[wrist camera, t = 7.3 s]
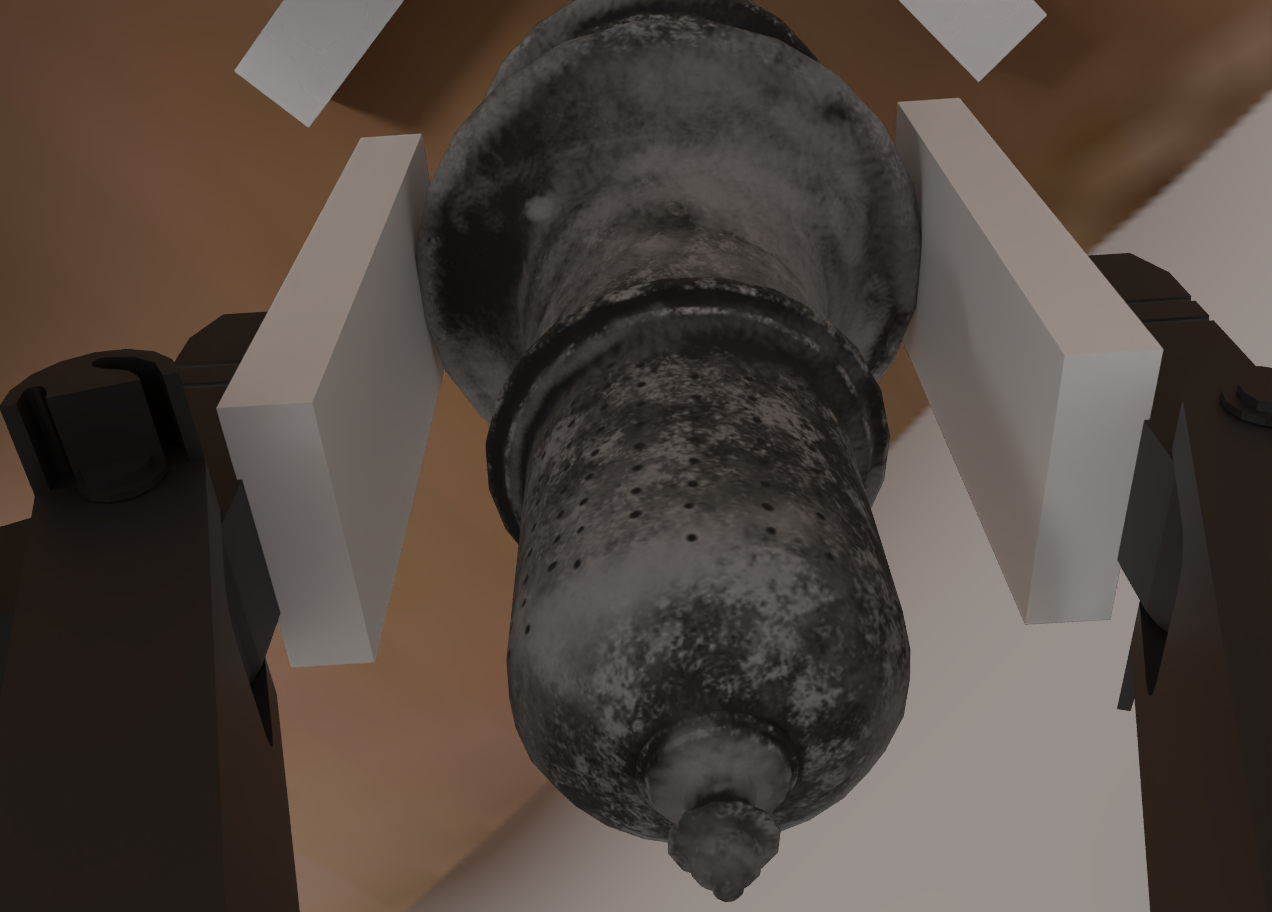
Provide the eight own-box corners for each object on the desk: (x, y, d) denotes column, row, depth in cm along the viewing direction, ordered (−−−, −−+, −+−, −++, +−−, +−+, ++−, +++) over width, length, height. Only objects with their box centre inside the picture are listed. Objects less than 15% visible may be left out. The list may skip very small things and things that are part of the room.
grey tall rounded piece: (918, 274, 18) (1308, 1043, 8) (558, 411, 19) (501, 1230, 9) (787, -127, 15) (1146, 287, 5) (371, 64, 16) (-19, 710, 6)
